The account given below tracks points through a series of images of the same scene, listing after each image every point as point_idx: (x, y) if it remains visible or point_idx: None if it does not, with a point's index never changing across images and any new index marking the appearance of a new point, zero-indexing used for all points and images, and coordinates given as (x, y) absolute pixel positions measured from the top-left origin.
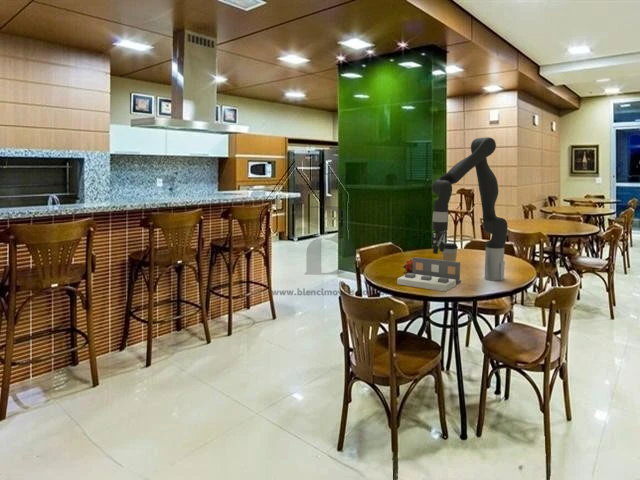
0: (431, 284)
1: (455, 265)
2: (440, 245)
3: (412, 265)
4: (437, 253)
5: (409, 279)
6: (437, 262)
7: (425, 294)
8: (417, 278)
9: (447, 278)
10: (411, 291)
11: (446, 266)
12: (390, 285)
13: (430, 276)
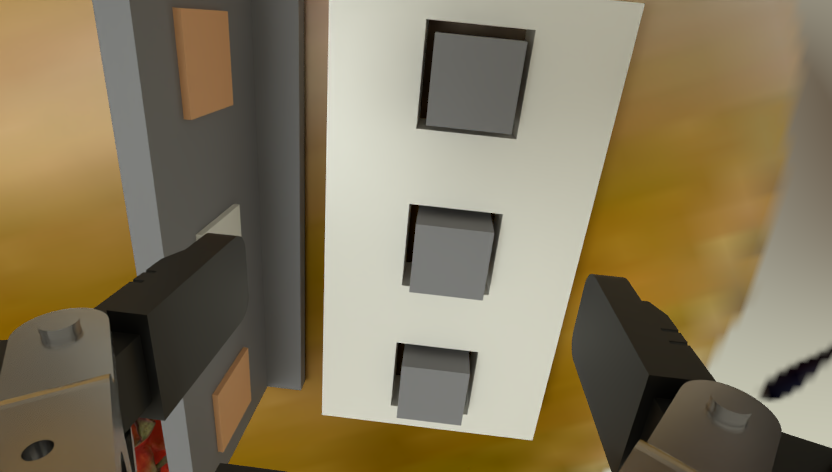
0: (601, 162)
1: (160, 7)
2: (180, 377)
3: (148, 451)
4: (607, 276)
5: (525, 362)
6: None
7: (772, 149)
8: (463, 319)
9: (451, 42)
10: (703, 272)
11: (189, 138)
12: (577, 432)
13: (442, 228)
